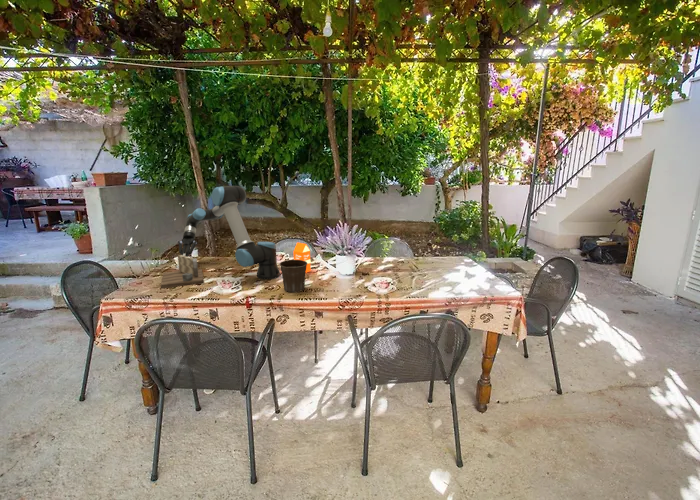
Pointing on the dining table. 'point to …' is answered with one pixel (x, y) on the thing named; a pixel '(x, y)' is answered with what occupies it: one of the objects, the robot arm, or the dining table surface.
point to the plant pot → (293, 275)
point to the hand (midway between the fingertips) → (183, 262)
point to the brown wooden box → (182, 277)
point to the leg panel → (185, 264)
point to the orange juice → (302, 254)
